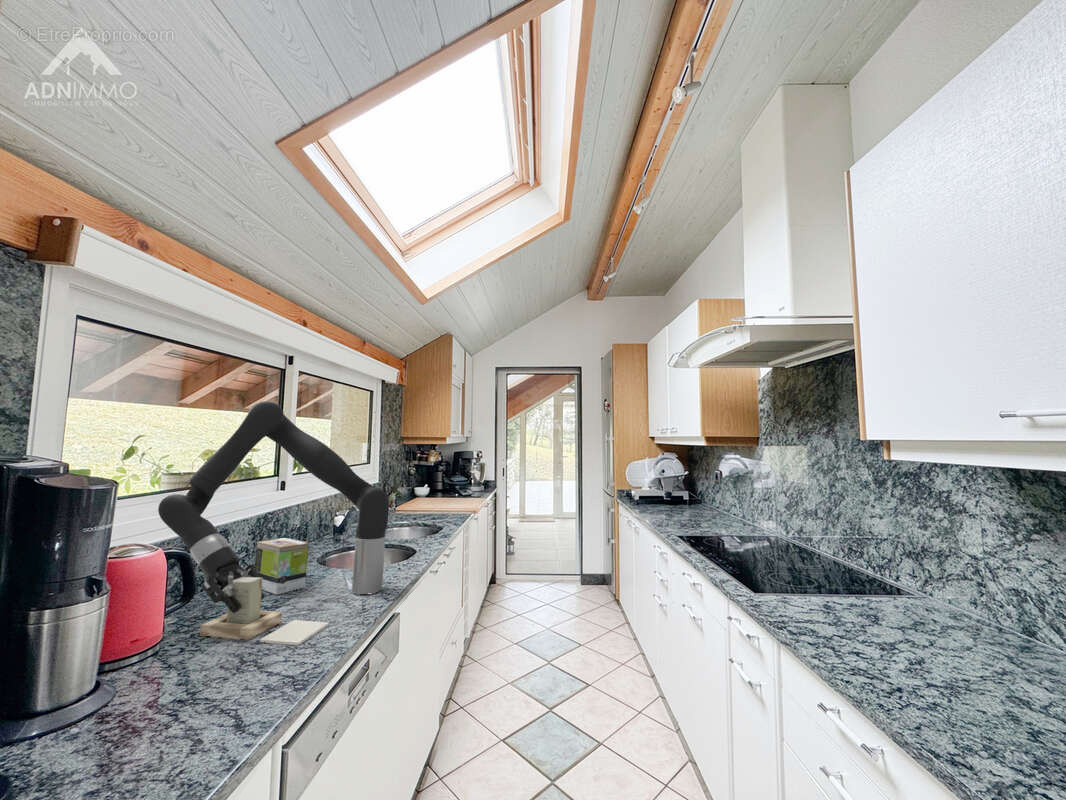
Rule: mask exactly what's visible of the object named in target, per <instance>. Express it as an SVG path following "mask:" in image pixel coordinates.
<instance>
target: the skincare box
mask: <svg viewBox="0 0 1066 800" xmlns="http://www.w3.org/2000/svg"><path fill="white" fill-rule="evenodd" d="M262 579H263V578H259V577H241V578H238V579H235V580H233V588H232V596H233V595H234V596H235V598H236V599H237V600H238V602H239V603H240V605H241V609H240V610H239V611H238V612H236V613H233V612H231V611H230V610H229V608H228V607H227V611H226V614H227V622H226V623H235V624H247V625H248V624H250V623H252V622H254V621H256V620H258V619H260V610H261V609H262V607H261V605H262V600H261V595H262V592H263V591H262Z"/></svg>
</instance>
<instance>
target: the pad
mask: <svg viewBox="0 0 1066 800" xmlns="http://www.w3.org/2000/svg"><path fill="white" fill-rule="evenodd" d="M329 625H330V622H324V621H323V622H322V621H312V620H311V621H310V620H299V619H293V620H292V621H290V622H288V623H286V624H284V625H283V626H281V627H279V628H278V629H276V630H274V631H272V632H271V633H268V634H267V635H266V636H263V637H261V638H260V639H259V642H260V643H264V642H265V643H266V644H267V643H268V644H277V645H278V644H279V645H288V646H289V645H290V646H300V645H301V644H302V643H304V642H306V641H307V640H308V639H311V638H312V637H313V636H314V635H316V634H317V633H319V632H321V631H322V630H323V629H325V628H327V627H329ZM326 626H327V627H326Z"/></svg>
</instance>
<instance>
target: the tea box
mask: <svg viewBox="0 0 1066 800" xmlns="http://www.w3.org/2000/svg"><path fill="white" fill-rule="evenodd" d="M309 547H310V542H309V541H308V542H307V541H304V540H298V539H294V538H288V537H282V538H274V539H269V540H268V539H267V540H261V541H257V543H256V548H255V550H256V551H255V560H254V561H255V562H254V569H255V570H256V571H257V573H258V574H259V576H260V577H261V578H263V579H262V590H263V591H266V592H267V593H271V594H274V595H276V596H277V595H281V594H285V592H286V593H289V591H290V592H292V591H293V590H294V591H297V590H301V589H304V588H305V587H306V584H307V583H306V582H307V571H308V559H309ZM300 588H301V589H300ZM296 589H297V590H296ZM294 591H293V592H294Z"/></svg>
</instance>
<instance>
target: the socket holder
mask: <svg viewBox="0 0 1066 800" xmlns="http://www.w3.org/2000/svg"><path fill="white" fill-rule="evenodd" d="M282 618H283V612H282V611H273V610H260V619H258V620H256V621H254V622H252V623H250V624H248V625H247V624H235V623H226V622H227V613H225V614H223V615H220V616H218V617H216V618H214V619H211V620H209V621H207V622H205V623H203V624H201V625H200V630H199V636H200V637H206V636H211V637H210V638H218V637H222V638H221V639H229V638H234V639H233V640H240V639H245V640H244V641H250V640H252V639H253V638H255V637H256V635H257V636H259V635H260V634H262V633H264V632H266V631H268V630H269V629H272V628H274V627H275V626H277V625H278V624H280V623H282V620H283V619H282ZM267 629H268V630H267ZM258 634H259V635H258ZM254 636H255V637H254ZM252 637H253V638H252ZM249 639H250V640H249Z"/></svg>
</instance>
